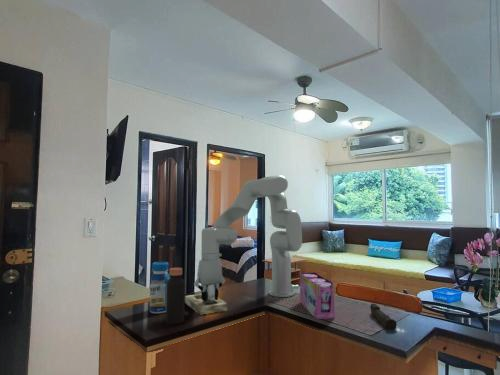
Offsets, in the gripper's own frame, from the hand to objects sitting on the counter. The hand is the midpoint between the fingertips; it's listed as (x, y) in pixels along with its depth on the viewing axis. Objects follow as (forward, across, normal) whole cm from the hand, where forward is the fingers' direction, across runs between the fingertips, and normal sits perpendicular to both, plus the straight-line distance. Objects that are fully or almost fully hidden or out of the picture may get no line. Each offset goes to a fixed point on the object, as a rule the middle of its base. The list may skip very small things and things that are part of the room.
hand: (209, 299), depth 136 cm
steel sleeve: (+2, 0, 0) cm, 2 cm away
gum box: (+5, -40, +22) cm, 46 cm away
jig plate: (+4, 0, -5) cm, 7 cm away
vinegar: (+4, +17, +7) cm, 19 cm away
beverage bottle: (+4, +19, -9) cm, 22 cm away
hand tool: (+5, -52, +45) cm, 68 cm away
